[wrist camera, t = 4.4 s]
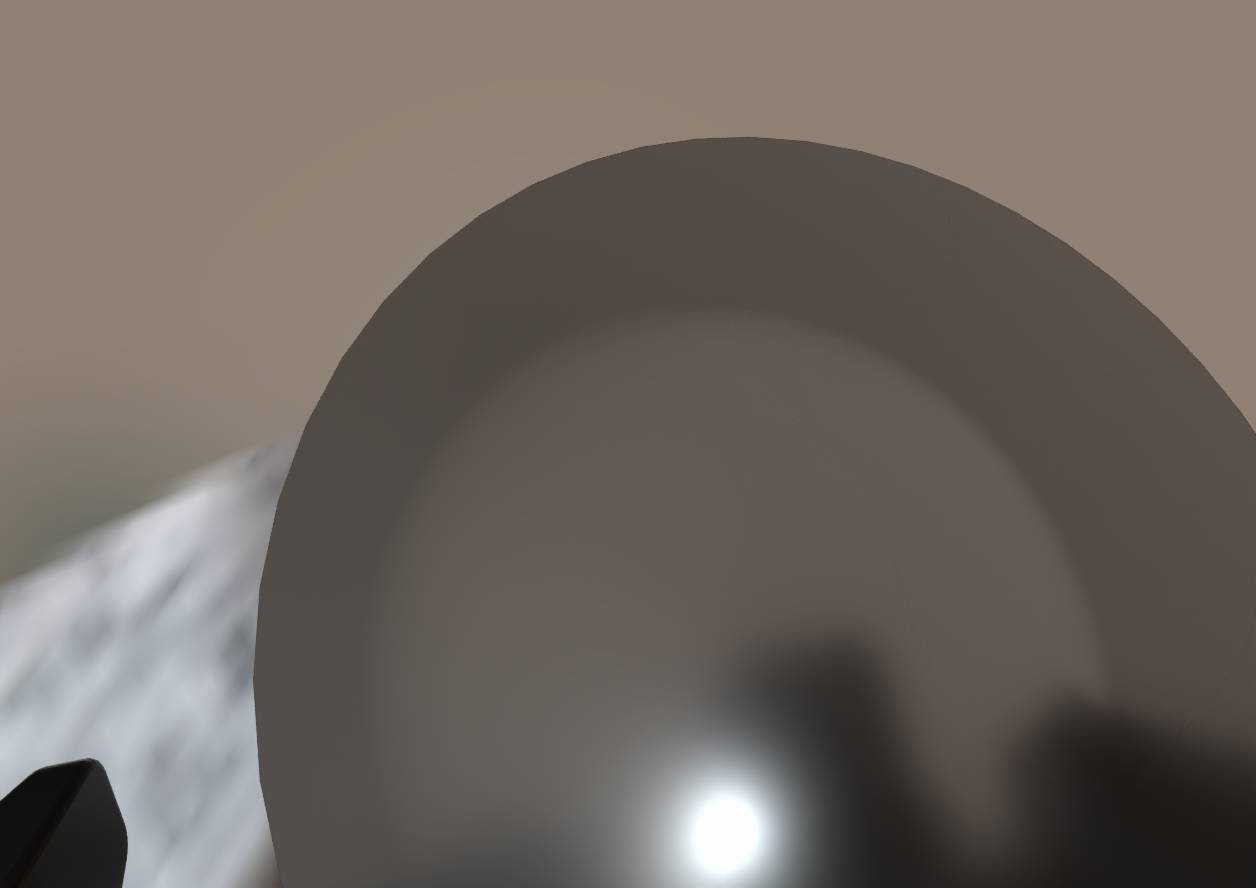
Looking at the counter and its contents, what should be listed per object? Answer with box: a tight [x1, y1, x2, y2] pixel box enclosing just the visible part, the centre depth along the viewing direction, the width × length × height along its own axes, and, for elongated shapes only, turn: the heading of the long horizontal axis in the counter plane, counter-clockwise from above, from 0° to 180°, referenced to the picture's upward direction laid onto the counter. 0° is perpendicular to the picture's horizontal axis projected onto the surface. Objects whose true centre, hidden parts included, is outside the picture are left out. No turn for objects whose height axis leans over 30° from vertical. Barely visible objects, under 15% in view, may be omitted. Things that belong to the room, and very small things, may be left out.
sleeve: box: [253, 137, 1256, 888], centre depth 9 cm, size 5×5×13 cm
